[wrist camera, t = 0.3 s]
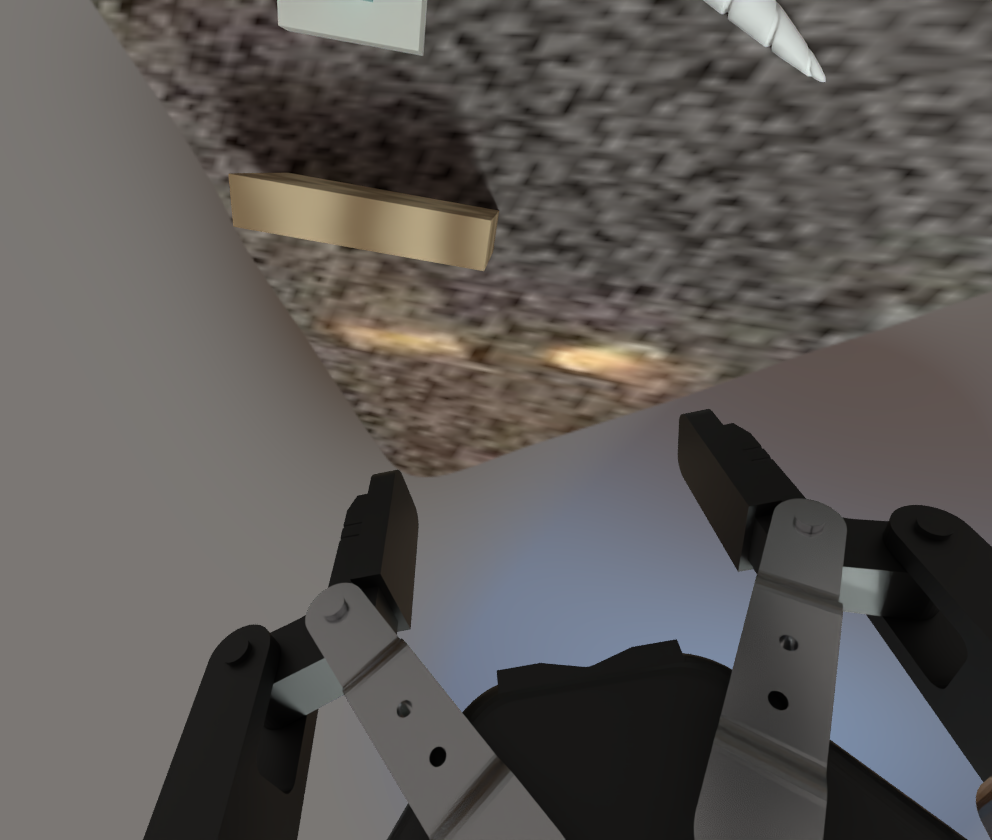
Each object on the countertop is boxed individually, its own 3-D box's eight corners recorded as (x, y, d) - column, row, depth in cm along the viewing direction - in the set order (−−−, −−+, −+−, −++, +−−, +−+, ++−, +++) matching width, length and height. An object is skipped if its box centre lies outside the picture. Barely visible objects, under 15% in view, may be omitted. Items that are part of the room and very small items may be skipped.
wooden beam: (290, 215, 37) (233, 226, 30) (288, 172, 36) (228, 173, 29) (492, 251, 37) (483, 270, 30) (499, 210, 36) (491, 220, 29)
